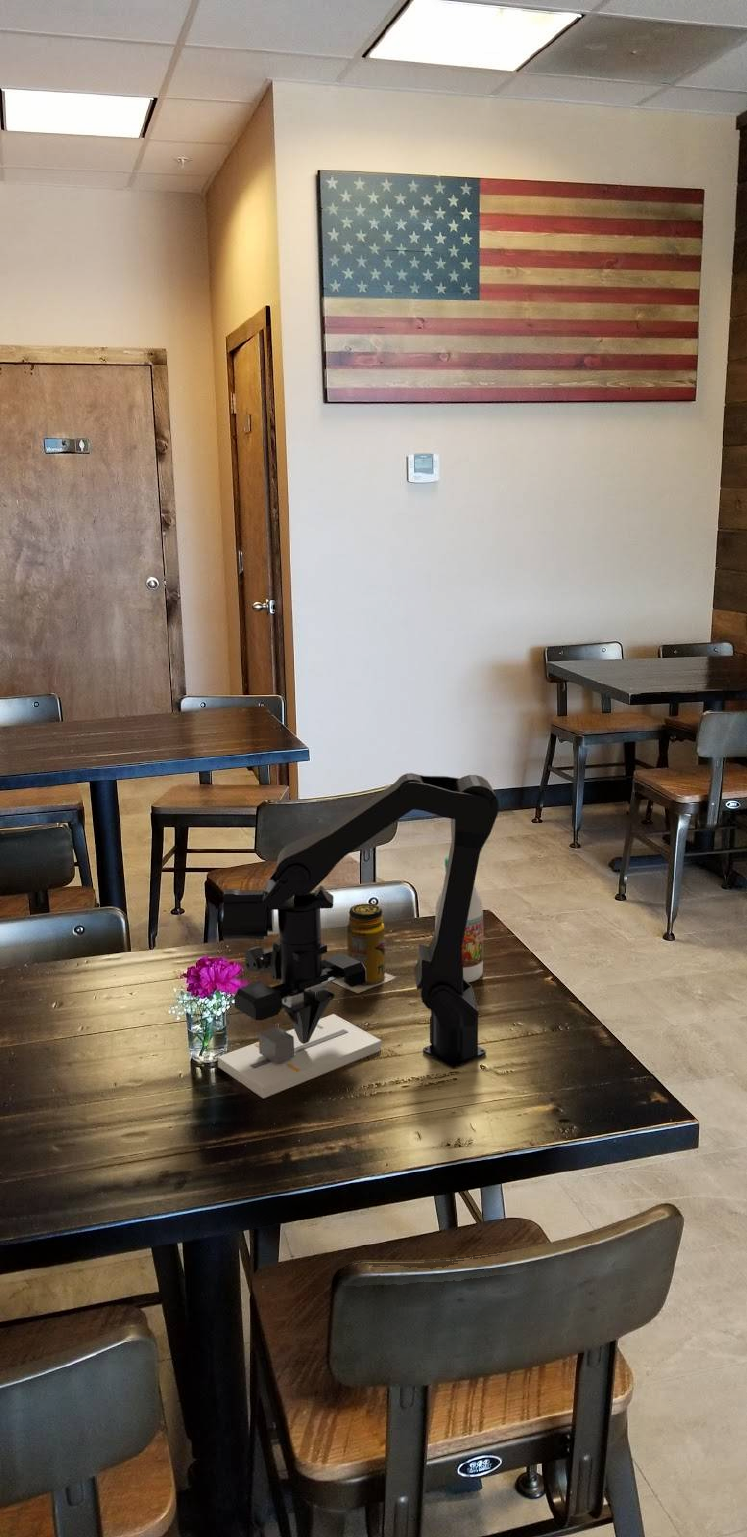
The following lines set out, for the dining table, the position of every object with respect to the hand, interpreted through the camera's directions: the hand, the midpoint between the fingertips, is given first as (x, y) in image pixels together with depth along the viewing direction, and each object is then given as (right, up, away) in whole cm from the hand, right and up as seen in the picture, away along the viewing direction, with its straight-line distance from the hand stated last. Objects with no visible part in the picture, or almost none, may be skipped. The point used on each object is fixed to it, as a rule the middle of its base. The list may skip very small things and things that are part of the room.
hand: (304, 1042), depth 156 cm
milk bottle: (+24, +4, +27) cm, 36 cm away
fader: (-4, -1, -3) cm, 5 cm away
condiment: (+8, +4, +26) cm, 27 cm away
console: (0, -2, 0) cm, 2 cm away
